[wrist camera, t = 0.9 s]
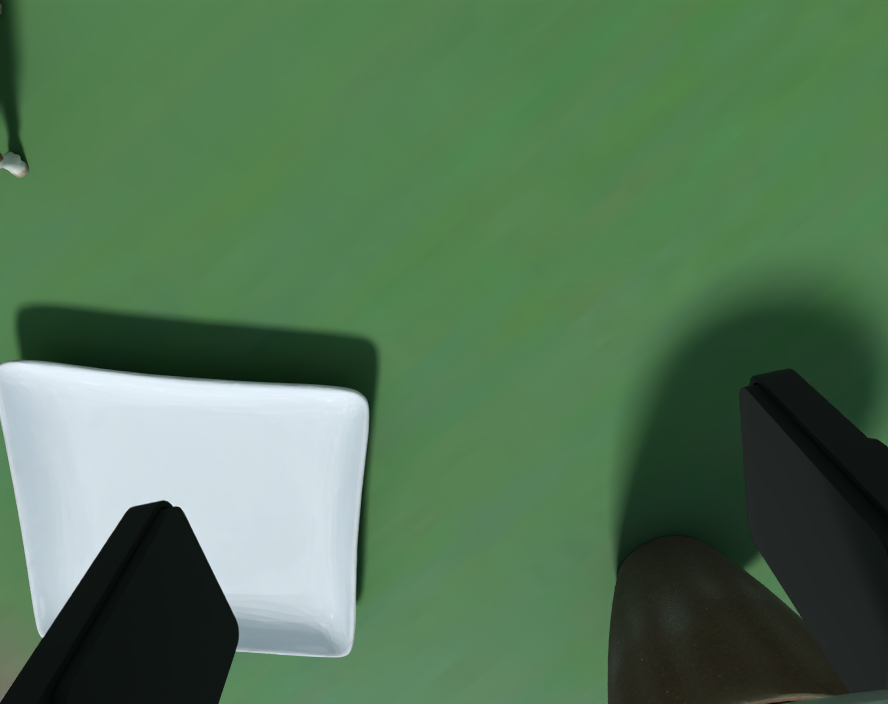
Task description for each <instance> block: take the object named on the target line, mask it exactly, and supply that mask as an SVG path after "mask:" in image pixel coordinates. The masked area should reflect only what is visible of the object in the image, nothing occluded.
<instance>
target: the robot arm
mask: <svg viewBox="0 0 888 704" xmlns="http://www.w3.org/2000/svg"><path fill="white" fill-rule="evenodd" d="M740 412H741V427H742V442H743V457H744V472H745V488H746V503H747V518H748V526H749V530H750V533H751V536H752V539H753V541H754V543H755V545H756V547H757V548H758V550H759V551H760V553H761V555H762V556H763V558H764V559H765V561H766V562H767V564H768V566H769V567H770V569H771V570H772V572H773V573H774V575H775V577H776V578H777V580H778V581H779V583H780V584H781V586H782V588H783V589H784V591H785V592H786V594H787V595H788V597H789V599H790V600H791V602H792V603H793V605H794V606H795V608H796V610H797V611H798V613H799V614H800V616H801V617H802V619H803V620H804V622H805V624H806V625H807V627H808V628H809V630H810V631H811V633H812V635H813V636H814V638H815V639H816V641H817V642H818V644H819V646H820V647H821V649H822V650H823V652H824V653H825V655H826V657H827V658H828V660H829V661H830V663H831V664H832V666H833V668H834V669H835V671H836V672H837V674H838V675H839V677H840V679H841V680H842V682H843V683H844V685H845V686H846V688H847V689H848V691H849V693H850V694H843V695H836V696H829V697H823V698H816V699H809V700H802V701H795V702H789V703H782V704H888V447H887V446H886V445H885V444H883V443H882V442H880V441H879V440H877V439H872V438H867V437H866V436H865V435H864V434H863V433H862V432H861V431H860V430H859V429H858V428H857V427H855V426H854V425H853V424H852V423H851V422H850V421H849V420H848V419H847V418H846V417H844V416H843V415H842V414H841V413H840V412H839V411H838V410H837V409H836V408H835V407H834V406H832V405H831V404H830V403H829V402H828V401H827V400H826V399H825V398H824V397H823V396H821V395H820V394H819V393H818V392H817V391H816V390H815V389H814V388H813V387H812V386H811V385H809V384H808V383H807V382H806V381H805V380H804V379H803V378H802V377H801V376H800V375H798V374H797V373H796V372H795V371H794V370H792V369H784V370H779V371H774V372H769V373H765V374H760V375H755V376H752V378H751V379H750V384H749V386H747V387H743V388H741V389H740ZM238 641H239V627H238V623H237V620H236V618H235V616H234V614H233V612H232V610H231V607H230V605H229V603H228V601H227V599H226V597H225V595H224V593H223V591H222V589H221V587H220V585H219V583H218V581H217V579H216V577H215V575H214V573H213V571H212V569H211V567H210V564H209V562H208V560H207V558H206V556H205V554H204V552H203V550H202V548H201V546H200V544H199V542H198V540H197V538H196V536H195V534H194V532H193V530H192V528H191V526H190V523H189V521H188V519H187V517H186V515H185V513H184V512H183V510H182V509H181V508H180V507H178V506H174V507H173V506H172V504H170V503H169V502H168V501H165V500H162V501H157V502H152V503H147V504H143V505H138V506H133V507H131V508H129V509H128V510H127V511H126V513H125V514H124V516H123V517H122V519H121V520H120V522H119V523H118V525H117V526H116V528H115V529H114V531H113V532H112V534H111V535H110V537H109V538H108V540H107V541H106V543H105V544H104V546H103V548H102V549H101V551H100V552H99V554H98V555H97V557H96V558H95V560H94V561H93V563H92V564H91V566H90V567H89V569H88V570H87V572H86V573H85V575H84V576H83V578H82V579H81V581H80V582H79V584H78V585H77V587H76V588H75V590H74V592H73V593H72V595H71V596H70V598H69V599H68V601H67V602H66V604H65V605H64V607H63V608H62V610H61V611H60V613H59V614H58V616H57V617H56V619H55V620H54V622H53V623H52V625H51V626H50V628H49V629H48V631H47V632H46V634H45V636H44V637H43V639H42V640H41V642H40V643H39V645H38V646H37V648H36V649H35V651H34V652H33V654H32V655H31V657H30V658H29V660H28V661H27V663H26V664H25V666H24V667H23V669H22V670H21V672H20V673H19V675H18V676H17V678H16V680H15V681H14V683H13V684H12V686H11V687H10V689H9V690H8V692H7V693H6V695H5V696H4V698H3V699H2V701H1V702H0V704H218V703H219V700H220V697H221V694H222V691H223V688H224V685H225V682H226V679H227V676H228V673H229V670H230V667H231V664H232V660H233V657H234V654H235V651H236V648H237V645H238Z"/></svg>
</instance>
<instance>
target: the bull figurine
mask: <svg viewBox="0 0 888 704" xmlns="http://www.w3.org/2000/svg"><path fill="white" fill-rule="evenodd" d="M1 13H2V6H1V3H0V14H1ZM1 168H5V169H7V170H9V171H10V172H11V173H12V174H13V175H15V176H17V177H25V176H26V175H27V173H28V166H27V164H26V163H25V162H24V161H21V157H20V156H19V155H17V154H14V153H12V152H7V153H6V154H4V155H2V154H1V153H0V169H1Z"/></svg>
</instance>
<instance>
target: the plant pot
mask: <svg viewBox="0 0 888 704" xmlns="http://www.w3.org/2000/svg"><path fill="white" fill-rule="evenodd" d="M843 694H850V693H849V691H848V689H847V688H846V686H845V685H844V683H843V682H842V680H841V679H840V677H839V675H838V674H837V672H836V671H835V669H834V668H833V666H832V664H831V663H830V661H829V660H828V658H827V657H826V655H825V653H824V652H823V650H822V649H821V647H820V646H819V644H818V642H817V641H816V639H815V638H814V636H813V635H812V633H811V631H810V630H809V628H808V627H807V625H806V624H805V622H804V620H803V619H802V618H801V617H799V616H798V615H797V614H796V613H795V612H794V611H793V610H792V609H791V608H790V607H788V606H787V605H786V604H785V603H784V602H783V601H782V600H780V599H779V598H778V597H777V596H776V595H775V594H773V593H772V592H771V591H770V590H769V589H768V588H766V587H765V586H764V585H763V584H761V583H760V582H759V581H758V580H756V579H755V578H754V577H753V576H751V575H750V574H749V573H747V572H746V571H745V570H743V569H742V568H741V567H740V566H738V565H737V564H735V563H734V562H733V561H731V560H730V559H728V558H727V557H725V556H724V555H723V554H721V553H720V552H718V551H717V550H715V549H714V548H712V547H711V546H709V545H708V544H706V543H704V542H702V541H700V540H698V539H695V538H691V537H686V536H668V537H662V538H658V539H655V540H652V541H650V542H647V543H645V544H643V545H641V546H640V547H638V548H637V549H635V550H634V551H633V552H632V553H631V554H630V555H629V556H628V557H627V558H626V559H625V561H624V562H623V564H622V565H621V567H620V569H619V572H618V575H617V581H616V586H615V592H614V598H613V605H612V612H611V621H610V633H609V649H608V704H782V703H789V702H795V701H802V700H809V699H816V698H823V697H829V696H836V695H843Z"/></svg>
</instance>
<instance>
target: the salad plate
mask: <svg viewBox="0 0 888 704" xmlns="http://www.w3.org/2000/svg"><path fill="white" fill-rule="evenodd" d="M0 418H1V424H2V429H3V434H4V439H5V444H6V450H7V455H8V460H9V465H10V470H11V476H12V481H13V486H14V492H15V497H16V503H17V509H18V514H19V520H20V526H21V531H22V538H23V544H24V550H25V557H26V564H27V570H28V577H29V583H30V589H31V596H32V602H33V609H34V615H35V620H36V625H37V629H38V632H39V634H40V636H41V637H42V638H43V637H44V636H45V634H46V632H47V631H48V629H49V628H50V626H51V625H52V623H53V622H54V620H55V619H56V617H57V616H58V614H59V613H60V611H61V610H62V608H63V607H64V605H65V604H66V602H67V601H68V599H69V598H70V596H71V595H72V593H73V592H74V590H75V588H76V587H77V585H78V584H79V582H80V581H81V579H82V578H83V576H84V575H85V573H86V572H87V570H88V569H89V567H90V566H91V564H92V563H93V561H94V560H95V558H96V557H97V555H98V554H99V552H100V551H101V549H102V548H103V546H104V544H105V543H106V541H107V540H108V538H109V537H110V535H111V534H112V532H113V531H114V529H115V528H116V526H117V525H118V523H119V522H120V520H121V519H122V517H123V516H124V514H125V513H126V511H127V510H128V509H129V508H131V507H133V506H138V505H143V504H147V503H152V502H157V501H162V500H165V501H168V502H169V503H170V504H172V506H173V507H174V506H178V507H180V508H181V509H182V510H183V512H184V513H185V515H186V517H187V519H188V521H189V523H190V526H191V528H192V530H193V532H194V534H195V536H196V538H197V540H198V542H199V544H200V546H201V548H202V550H203V552H204V554H205V556H206V558H207V560H208V562H209V564H210V567H211V569H212V571H213V573H214V575H215V577H216V579H217V581H218V583H219V585H220V587H221V589H222V591H223V593H224V595H225V597H226V599H227V601H228V603H229V605H230V607H231V610H232V612H233V614H234V616H235V618H236V620H237V623H238V627H239V641H238V645H237V648H236V651H239V652H255V653H268V654H281V655H298V656H315V657H343V656H346V655H348V654H349V652H350V651H351V649H352V646H353V642H354V633H355V622H356V571H357V545H358V530H359V518H360V507H361V495H362V487H363V477H364V469H365V460H366V451H367V443H368V433H369V405H368V402H367V399H366V398H365V397H364V396H363V395H362V394H361V393H360V392H358V391H357V390H354V389H351V388H346V387H338V386H328V385H316V384H295V383H271V382H249V381H233V380H218V379H204V378H191V377H178V376H166V375H154V374H144V373H134V372H125V371H116V370H108V369H101V368H93V367H86V366H78V365H71V364H63V363H56V362H48V361H39V360H11V361H6V362H3V363H0Z"/></svg>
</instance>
